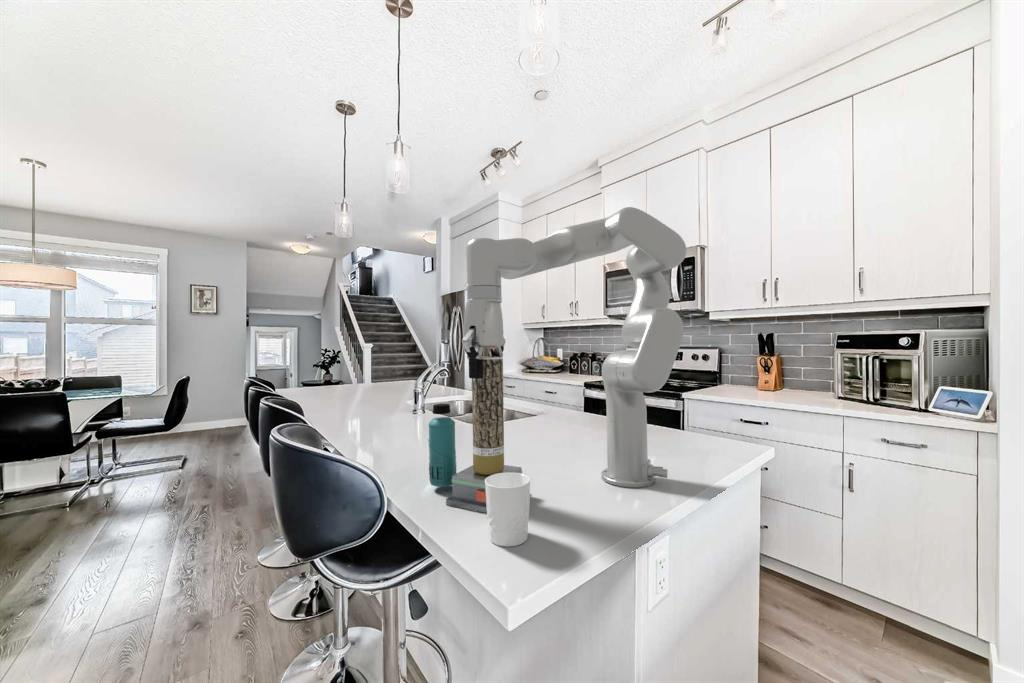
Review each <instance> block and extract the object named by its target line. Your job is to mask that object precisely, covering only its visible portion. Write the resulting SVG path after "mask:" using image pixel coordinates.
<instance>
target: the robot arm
mask: <svg viewBox="0 0 1024 683" xmlns="http://www.w3.org/2000/svg"><path fill="white" fill-rule="evenodd" d="M630 246H633V247H631V248H630V249H629V251H628V252H627V254H626V258H625V263H626V264H625V265H626V268H627V270H628V272H629V273H630V275H631V277H632V279H633V280H632V281H633V282H634V285H635V289H634V290H635V291H634V296H633V298H632V302H631V304H630V307H629V310H628V312H627V314H626V317H625V319H624V322H623V325H622V328H621V339H622V341H623V343H624V344H625V345H627V346H628V347H630V348H633V349H630V350H628V349H625V350H623V349H621V350H617V351H616V350H615V351H614V352H611V353H610V354H608V355H607V356H606V357H605V359H604V360H603V364H602V366H601V378H602V383H603V387H604V394H605V405H606V407H605V408H606V410H605V411H606V445H607V446H606V449H607V450H606V452H607V453H606V454H607V456H606V457H607V468H605V469H603V470H602V471H601V478H602V480H603V481H605V482H606V483H608V484H611V485H614V486H618V487H624V488H643V487H649V486H651V485H653V484H654V483H655V482H656V477H659V478H664V479H667V478H668V474H669V473H668V469H667V468H664V466H655V465H654V464H651V463H652V462H651V461H652V460H651V459H649V458H648V456H649V454H648V426H647V425H648V420H647V419H648V418H647V417H648V416H647V414H648V413H647V412H648V411H647V403H646V398H645V395H644V393H647V394H648V393H649V394H650V393H655V392H657V391H659V390H660V389H662V388H663V386H664V385H666V383H667V381H668V379H669V377H670V375H671V372H672V371H673V370H672V369H673V367H674V365H675V364H674V363H675V361H676V358H677V356H678V353H679V350H680V348H681V344H682V342H683V338H684V323H683V320H682V318H681V316H680V314H679V313H678V312H677V311H676V310H674V309H672V308H669V307H668V306H669V302H670V298H671V297H670V296H671V290H670V287H669V285H668V283H667V281H666V279H665V277H664V274H663V273H662V272H664V271H668V270H672V269H674V268H676V267H678V266H679V265H680V264H681V263H682V262H684V260H685V258H686V255H687V245H686V243H685V241H684V239H683V238H682V236H681V234H679V233H678V232H676V231H675V230H674V229H672V228H671V227H669V226H668V225H667V224H665V223H663V222H662V221H660V220H658V219H657V218H655V217H654V216H652V215H651V214H649V213H647V212H646V211H643V210H642V209H640V208H636V207H634V206H633V207H632V206H627V207H623V208H621V209H620V210H617V211H616V212H614V213H613V214H611V215H609V216H607V217H604V218H601V219H596V220H592V221H588V222H583V223H578V224H574V225H569V226H565V227H564V228H562V229H561V228H560V229H559V230H556V231H554V232H553V233H552V234H549V235H547V236H545V237H544V238H541V239H538V240H536V241H531V240H529V239H527V238H524V237H523V238H522V237H514V238H506V239H505V238H504V239H494V238H489V237H479V238H478V237H477V238H473V239H471V240H469V241H468V243H467V244H466V250H465V251H466V254H465V256H466V288H467V289H466V290H467V292H466V295H467V297H466V298H467V301H466V304H465V308H464V316H463V338H462V339H461V343H462V345H463V347H464V352H465V354H466V359H467V360H468V378H469V379H472V378H475V379H481V378H483V359H481V357H482V356H483V352H484V348H487V351H488V354H489V356H502V358H503V357H504V350H505V345H506V339H505V338H504V320H503V311H502V305H501V304H502V301H503V297H502V279H505V280H515V279H519V278H523V277H526V276H531V275H535V274H539V273H541V272H544V271H548V270H551V269H556V268H561V267H565V266H568V265H571V264H574V263H579V262H581V261H586V260H590V259H593V258H597V257H602V256H605V255H609V254H613V253H616V252H619V251H621V250H624V249H626V248H628V247H630ZM634 349H637V350H634Z"/></svg>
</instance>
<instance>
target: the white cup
mask: <svg viewBox="0 0 1024 683" xmlns="http://www.w3.org/2000/svg"><path fill="white" fill-rule="evenodd" d="M530 489H531V478H530V477H529V476H528V475H526V474H523V473H522V474H520V473H498V474H494V475H491V476H489V477H487V478H486V479H485V492H486V508H487V513H486V515H487V516H486V518H487V524H488V539H489V540H490V542H491V543H492V544H494V545H496V546H500V547H505V548H507V547H516V546H519V545H522V544H524V543H525V542H526V541H527V540H528V535H529V522H530V501H531V500H530V499H531V498H530V494H531V493H530V492H531V490H530Z"/></svg>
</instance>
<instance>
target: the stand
mask: <svg viewBox="0 0 1024 683" xmlns="http://www.w3.org/2000/svg"><path fill="white" fill-rule="evenodd" d="M456 473H457V474H455V475H453V476H452V485H451V486H452V495H451V496H449V497H448V498H446V499H445V505H446V506H448V505H449V506H450V507H453V506H454V508H458V507H460V508H459V509H463V508H465V509H464V510H467V509H470V510H469V511H472V510H476V511H475V512H477V511H480V512H479V513H482V512H485V513H484V514H487V508H486V492H485V479H486V478H487V477H489V476H491V475H482V474H478V473H476V472H475V471H474V469H473V464H472V465H470V466H468V467H467V468H464V469H463V470H461V471H459V472H456ZM500 473H520V474H523V468H522V466H514V465H506V464H504V469H503V471H502V472H500ZM493 475H494V474H493Z"/></svg>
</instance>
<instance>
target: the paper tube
mask: <svg viewBox="0 0 1024 683" xmlns="http://www.w3.org/2000/svg"><path fill="white" fill-rule="evenodd" d="M481 359H483V378H481V379H475V378H471V381H472V382H471V393H472V394H471V396H472V397H471V398H472V399H471V400H472V401H471V403H472V404H471V405H472V406H471V407H472V411H471V412H472V460H473V461H472V465H473V469H474V471H475V472H476V473H478V474H482V475H493V474H498V473H500V472H502V471H503V469H504V465H505V431H504V430H505V429H504V428H505V427H504V426H505V425H504V423H505V421H504V418H505V417H504V358H503V357H502V356H490V355H489V356H481Z"/></svg>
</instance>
